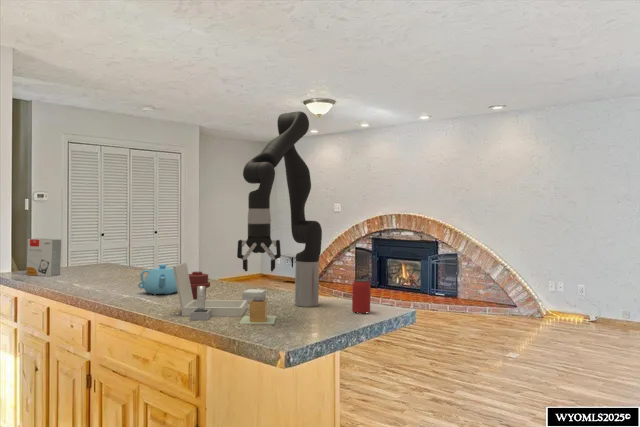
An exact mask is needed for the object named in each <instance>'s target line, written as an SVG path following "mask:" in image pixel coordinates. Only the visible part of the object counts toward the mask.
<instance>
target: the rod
mask: <svg viewBox="0 0 640 427" xmlns="http://www.w3.org/2000/svg"><path fill="white" fill-rule="evenodd" d="M197 312H205V286H197Z"/></svg>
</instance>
